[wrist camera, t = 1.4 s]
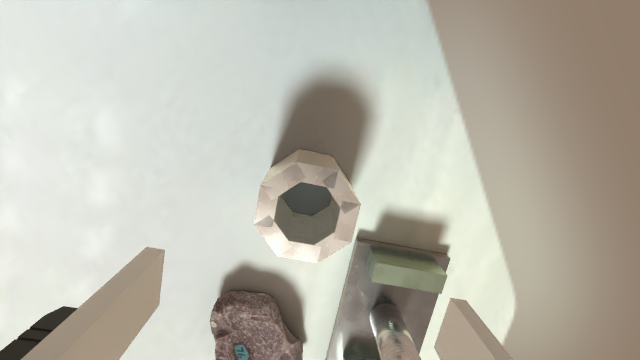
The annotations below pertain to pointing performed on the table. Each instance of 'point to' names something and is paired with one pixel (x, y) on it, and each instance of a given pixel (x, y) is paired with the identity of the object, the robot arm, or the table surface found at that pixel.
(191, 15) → the table surface
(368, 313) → the stand
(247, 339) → the rock
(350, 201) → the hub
